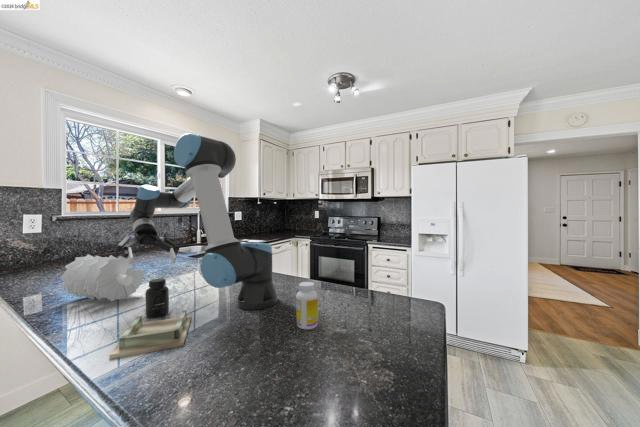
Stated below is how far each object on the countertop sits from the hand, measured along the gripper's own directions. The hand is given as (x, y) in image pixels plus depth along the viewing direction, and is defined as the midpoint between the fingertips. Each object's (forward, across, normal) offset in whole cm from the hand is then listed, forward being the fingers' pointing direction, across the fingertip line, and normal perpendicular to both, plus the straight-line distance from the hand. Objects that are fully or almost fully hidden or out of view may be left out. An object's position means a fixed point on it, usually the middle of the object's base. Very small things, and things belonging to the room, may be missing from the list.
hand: (153, 260), depth 92 cm
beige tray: (+29, +2, -6) cm, 29 cm away
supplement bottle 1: (+13, -2, -13) cm, 19 cm away
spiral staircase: (-18, +8, -31) cm, 37 cm away
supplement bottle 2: (+51, -31, +11) cm, 60 cm away
